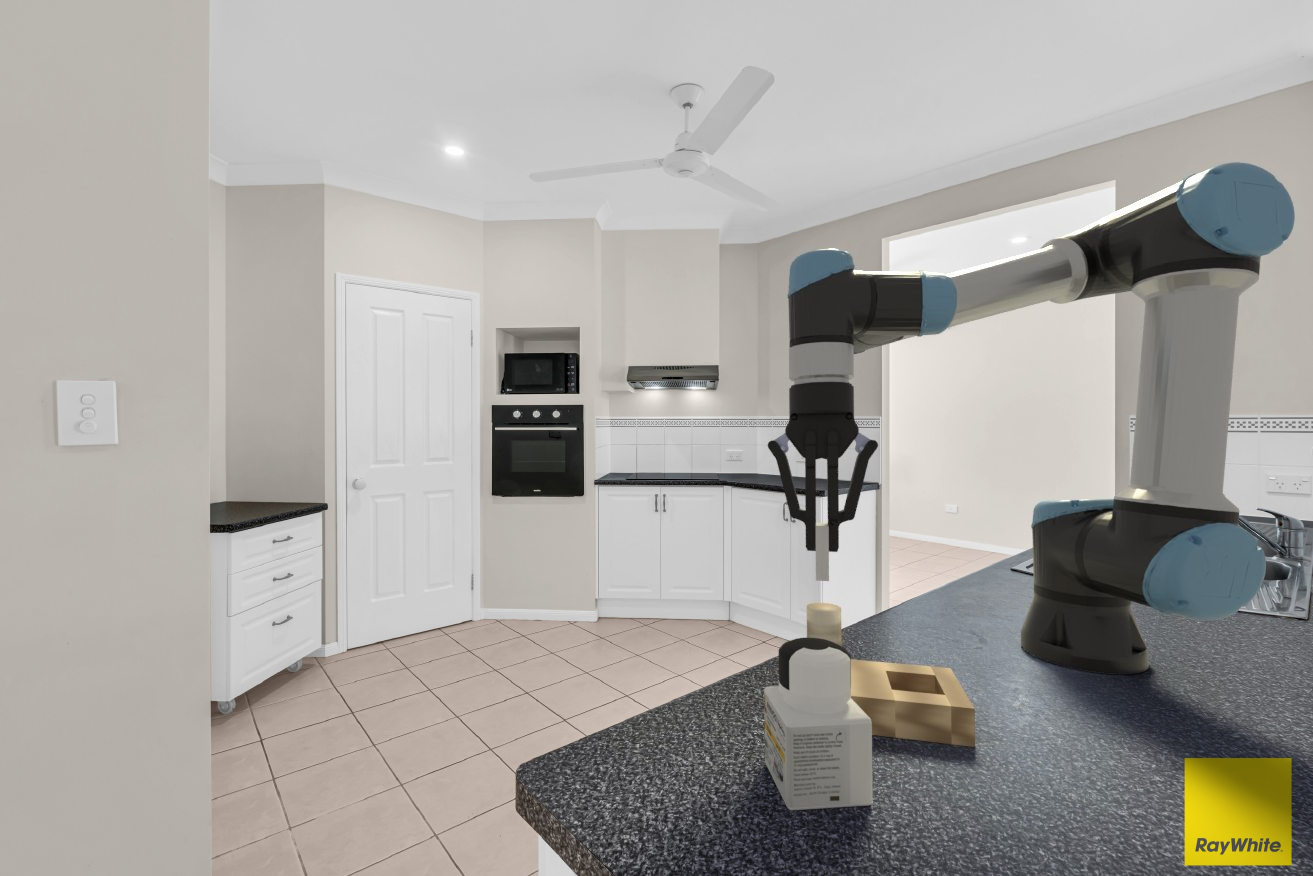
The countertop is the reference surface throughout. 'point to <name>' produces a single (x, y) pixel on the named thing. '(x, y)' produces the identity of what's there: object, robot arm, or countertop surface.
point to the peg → (824, 622)
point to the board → (913, 702)
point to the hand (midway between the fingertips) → (822, 578)
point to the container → (817, 729)
